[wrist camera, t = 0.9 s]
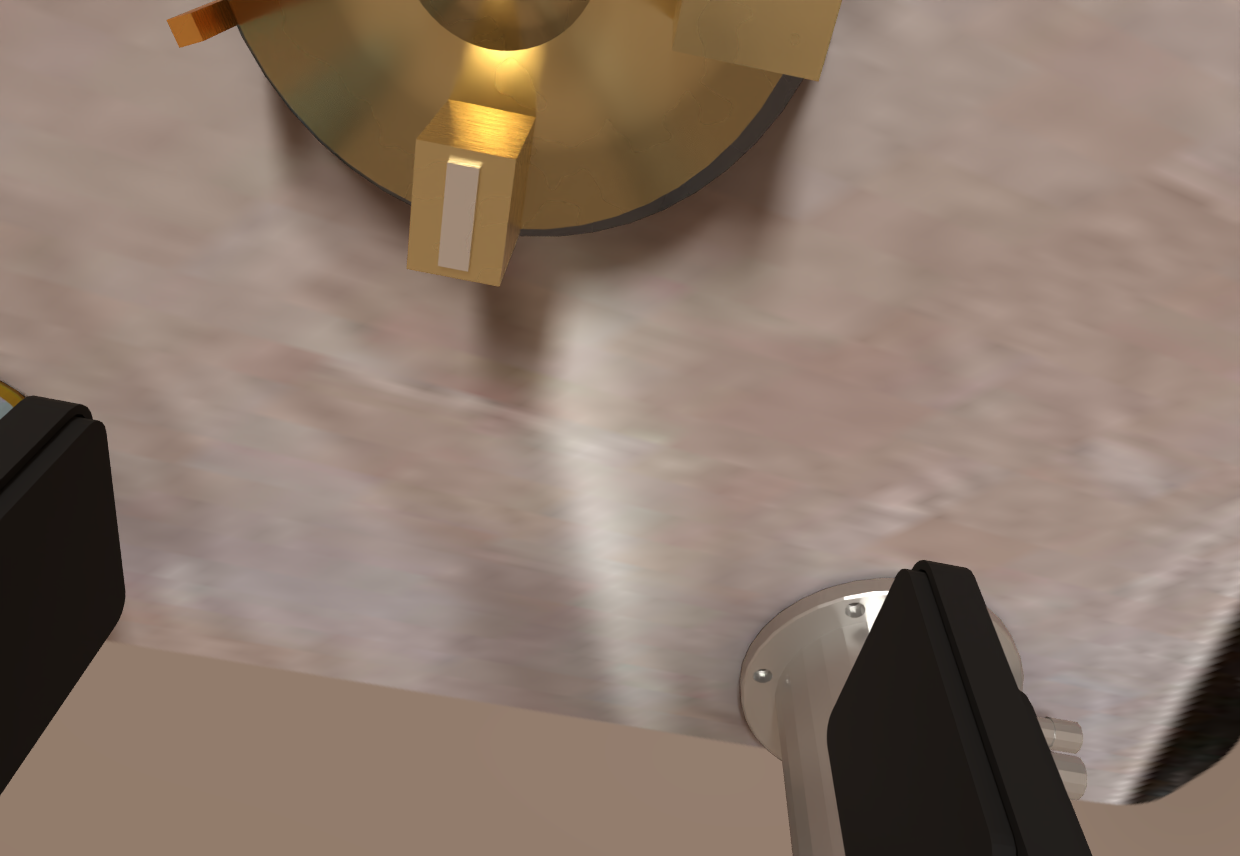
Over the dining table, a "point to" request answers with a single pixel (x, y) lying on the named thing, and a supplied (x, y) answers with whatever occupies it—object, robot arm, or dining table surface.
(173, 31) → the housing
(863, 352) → the dining table surface
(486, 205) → the gold crown turntable
